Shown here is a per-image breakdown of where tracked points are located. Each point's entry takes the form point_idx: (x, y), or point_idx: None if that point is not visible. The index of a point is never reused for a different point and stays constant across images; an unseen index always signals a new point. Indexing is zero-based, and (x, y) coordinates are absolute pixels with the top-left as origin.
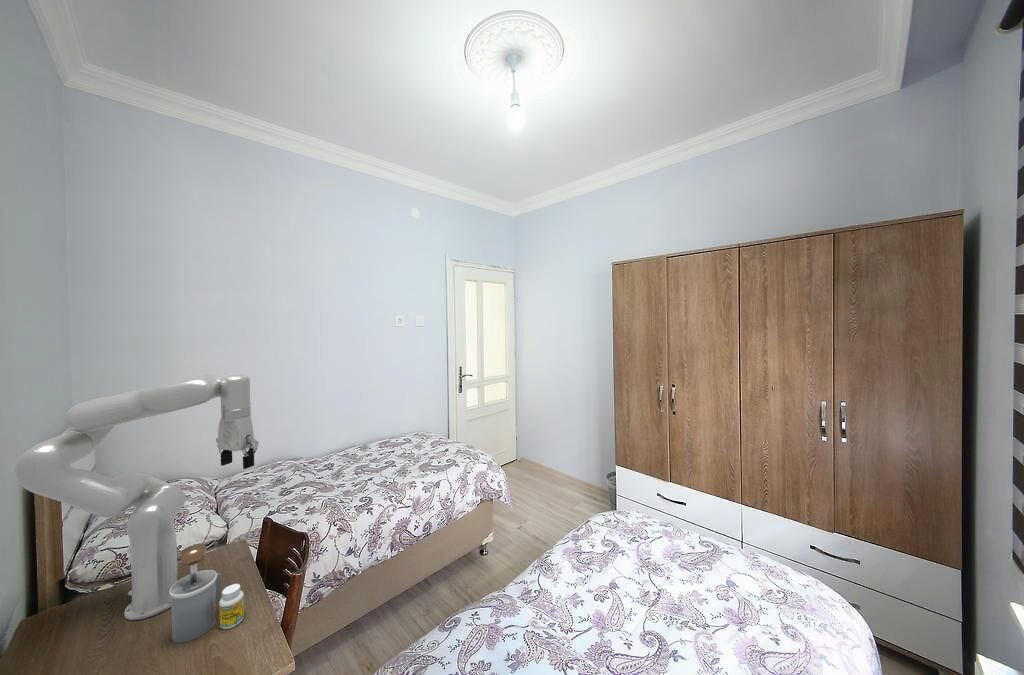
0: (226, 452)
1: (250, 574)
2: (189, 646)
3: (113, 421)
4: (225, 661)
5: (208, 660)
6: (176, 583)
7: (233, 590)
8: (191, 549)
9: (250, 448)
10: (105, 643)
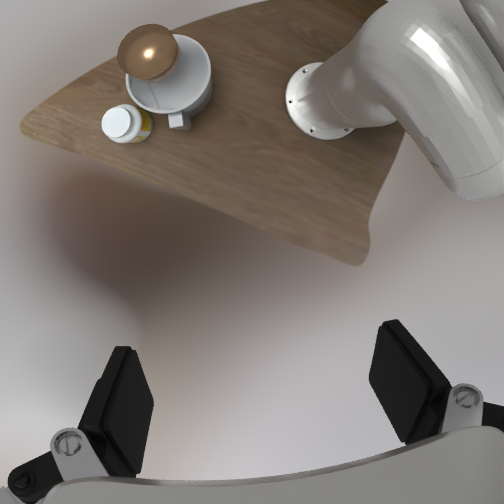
0: (421, 418)
1: (235, 214)
2: None
3: None
4: (75, 87)
5: (97, 74)
6: (201, 53)
7: (106, 121)
8: (149, 46)
9: (19, 494)
10: (292, 27)
